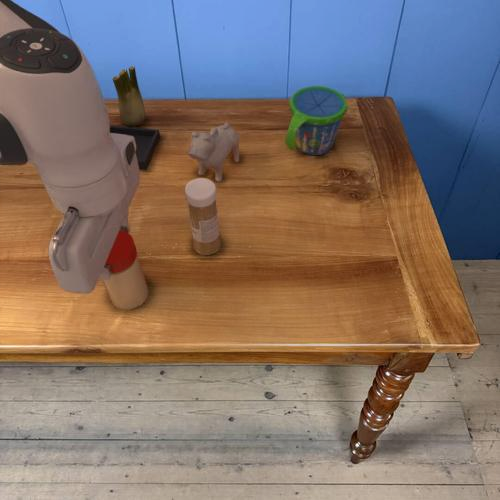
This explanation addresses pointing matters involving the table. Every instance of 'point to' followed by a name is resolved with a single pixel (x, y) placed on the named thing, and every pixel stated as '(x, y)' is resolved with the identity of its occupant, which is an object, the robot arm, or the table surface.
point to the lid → (122, 252)
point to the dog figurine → (214, 148)
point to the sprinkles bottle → (203, 215)
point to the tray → (141, 142)
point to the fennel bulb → (129, 98)
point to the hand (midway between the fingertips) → (114, 254)
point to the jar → (127, 287)
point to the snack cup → (315, 119)
